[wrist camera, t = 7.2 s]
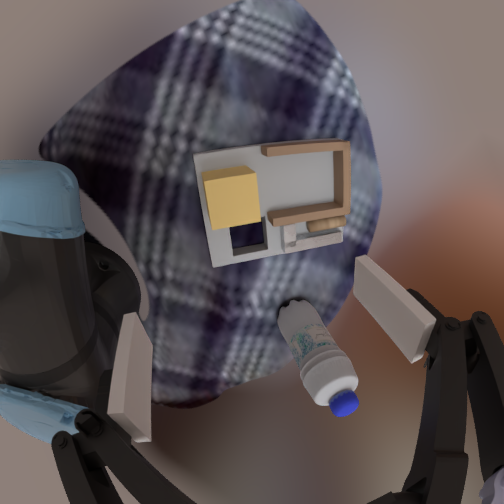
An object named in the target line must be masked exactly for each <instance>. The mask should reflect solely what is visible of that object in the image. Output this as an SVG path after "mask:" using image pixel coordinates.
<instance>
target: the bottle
mask: <svg viewBox="0 0 504 504" xmlns="http://www.w3.org/2000/svg"><path fill="white" fill-rule="evenodd" d="M277 323H278V326H279V329H280V331H281V333H282V335H283V337H284V338H285V340H286V342H287V343H288V345H289V347H290V350H291V352H292V354H293V356H294V358H295V360H296V362H297V364H298V367H299V369H300V371H301V373H300V377H301V379H302V381H303V385H304V387H305V388H306V389H307V391H308V392H309V394H310V395H311V397H312V398H313V400H314V401H315V402H316V403H317V404H318V405H323V406H326V405H329V406H330V408H331V411H332V412H333V414H334V415H335V416H338V417H343V416H347V415H349V414H351V413H352V412H353V411H355V410H356V408H357V407H358V405H359V400H358V398H357V396H356V395H355V393H354V390H355V388H356V387H357V385H358V377H357V375H356V373H355V371H354V368H353V366H352V363H351V361H350V359H349V358H348V357H347V356H346V354H345V353H344V352H343V351H342V350H340V349H339V348H338V346H337V345H336V343H335V342H334V340H333V338H332V337H331V335H330V334H329V332H328V330H327V329H326V327H325V326H324V324H323V322H322V320H321V318H320V316H319V314H318V313H317V311H316V310H315V308H314V307H313V306H312V305H311V304H310V303H309V302H307V301H305V300H301V301H300V302H297V301H295V300H291V301H290V304H289V306H287V307H286V308H285V307H281V309H280V312H279V317H278V319H277Z"/></svg>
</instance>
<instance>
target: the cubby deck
mask: <svg viewBox="0 0 504 504" xmlns="http://www.w3.org/2000/svg"><path fill="white" fill-rule="evenodd" d="M193 157H194V164H195V170H196V176H197V182H198V188H199V194H200V200H201V206H202V212H203V217H204V223H205V229H206V234H207V239H208V245H209V250H210V255H211V260H212V265H213V267H218V266H223V265H228V264H233V263H238V262H243V261H248V260H253V259H258V258H263V257H268V256H273V255H278V254H283V253H284V251H283V250H282V248H281V232H280V226H283V225H289V224H294V223H295V224H296V235H300V234H305V233H309V232H308V230H307V227H306V221H311V220H317V219H323V218H329V217H335V216H341V215H347V214H350V198H351V161H350V142H349V141H344V140H343V139H338V138H325V139H308V140H294V141H283V142H272V143H263V144H254V145H246V146H239V147H232V148H225V149H218V150H212V151H206V152H200V153H194V154H193ZM243 165H246V166H248V167H249V168H250V169H252V170H253V171H254V172H256V175H257V185H258V194H259V204H260V214H261V217H262V225H263V235H264V243H262V244H256V245H251V246H246V247H241V248H236V249H232V244H231V237H230V231H229V227H228V228H222V229H217V230H212V228H211V224H210V220H209V216H208V210H207V204H206V198H205V192H204V186H203V180H202V174H201V172H206V171H212V170H218V169H224V168H230V167H237V166H243ZM337 228H338V229H339V230H341V231H342V241H343V226H342V227H337Z"/></svg>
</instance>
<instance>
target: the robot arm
mask: <svg viewBox="0 0 504 504" xmlns="http://www.w3.org/2000/svg"><path fill="white" fill-rule="evenodd" d="M84 233H85V224H84V222H83V221H82V216H81V208H80V197H79V185H78V182H77V179H76V177H75V175H74V174H73V172H72V171H71V170H70V169H68V168H67V167H66V166H64V165H61V164H59V163H55V162H49V161H39V160H0V415H1V416H2V417H3V418H4V419H5V420H6V421H8V422H9V423H11V424H12V425H13V426H15V427H16V428H18V429H20V430H21V431H23V432H25V433H26V434H28V435H31V436H32V437H35V438H37V439H39V440H42V441H44V442H47V443H50V444H51V445H52V450H53V454H54V457H55V460H56V464H57V468H58V471H59V474H60V477H61V480H62V483H63V486H64V489H65V491H66V494H67V497H68V499H69V502H70V504H123V502H122V500H121V498H120V497H119V494H118V493H117V491H116V489H115V487H114V485H113V483H112V481H111V479H110V477H109V475H108V473H107V470H106V468H105V466H108V467H109V469H110V470H111V471H112V472H113V474H114V475H115V476H116V477H117V479H118V480H119V481H120V482H121V483H122V484H123V485H124V487H125V488H126V489H127V490H128V491H129V492H130V493H131V494H132V495H133V496H134V497H135V498H136V500H138V502H139V503H140V504H197V503H195V502H194V501H193V500H191V499H190V498H189V497H188V496H186V495H185V494H184V493H183V492H181V491H180V490H179V489H178V488H177V487H176V486H174V485H173V484H172V483H171V482H170V481H169V480H168V479H166V478H165V477H164V476H163V475H162V474H161V473H160V472H159V471H158V470H157V469H156V468H154V467H153V466H152V465H151V464H150V463H149V462H148V461H147V460H146V459H145V458H144V457H143V456H142V455H141V454H140V453H139V452H138V451H137V449H136V448H135V447H134V446H133V445H131V437H132V438H133V439H134V440H135V441H136V442H146V441H151V371H152V350H153V345H152V344H151V342H150V340H149V338H148V336H147V334H146V332H145V330H144V328H143V326H142V324H141V322H140V320H139V317H138V313H139V308H140V302H141V292H140V286H139V283H138V280H137V278H136V276H135V274H134V272H133V270H132V269H131V268H130V266H129V265H128V264H127V263H126V262H125V261H124V260H123V259H122V258H121V257H120V256H119V255H118V254H116V253H115V252H113V251H112V250H110V249H108V248H106V247H104V246H102V245H99V244H95V243H91V242H84ZM353 294H354V296H355V297H356V298H357V299H358V300H359V301H360V302H361V304H362V305H363V306H364V307H365V308H366V309H367V311H368V312H369V313H370V314H371V315H372V316H373V318H374V319H375V320H376V321H377V322H378V323H379V324H380V326H381V327H382V328H383V329H384V331H385V332H386V333H387V334H388V335H389V336H390V338H391V339H392V340H393V341H394V342H395V344H396V345H397V346H398V347H399V349H400V350H401V351H402V352H403V354H404V355H405V356H406V357H407V358H408V360H409V361H410V362H411V363H413V362H415V361H417V360H418V359H421V358H422V357H423V354H424V352H425V350H426V351H427V352H428V353H429V355H428V357H427V359H426V362H425V364H424V368H425V367H426V365H427V372H426V384H425V393H424V403H423V410H422V416H421V423H420V429H419V435H418V440H417V445H416V449H415V454H414V459H413V463H412V467H411V470H410V473H409V475H408V476H407V478H406V480H405V483H404V486H403V488H402V491H401V492H397V493H392V492H389V493H387V494H385V495H383V496H382V497H380V498H377V499H376V500H373V501H371V502H369V503H367V504H461V499H462V495H463V490H464V485H465V480H466V474H467V468H468V454H466V453H465V452H464V443H465V433H466V417H467V391H468V395H469V399H470V403H471V408H472V412H473V418H474V423H475V429H476V434H477V442H478V449H479V457H480V466H481V472H482V475H483V480H484V485H483V488H482V489H481V490H480V492H479V497H480V498H481V499H482V504H504V345H503V343H502V341H501V339H500V337H499V334H498V332H497V330H496V328H495V326H494V324H493V322H492V320H491V318H490V316H489V315H488V314H486V313H485V312H482V311H477V312H474V313H473V314H472V317H471V319H470V320H466V321H462V322H460V321H459V320H458V319H456V318H453V317H444V316H443V315H442V314H441V313H440V312H439V311H438V310H437V309H436V308H435V307H434V306H433V305H432V304H431V303H429V302H428V301H427V300H426V299H424V297H423V296H422V295H421V294H420V293H418V292H417V291H415V290H412V289H408V290H405V289H404V288H403V287H402V286H401V285H400V284H398V283H397V282H396V281H395V280H394V279H393V278H392V277H391V276H390V275H388V274H387V273H386V272H385V271H384V270H383V269H382V268H381V267H379V266H378V265H377V264H376V263H375V262H374V261H372V260H371V259H370V258H369V257H368V256H367V255H363V256H360V257H356V258H355V275H354V290H353Z"/></svg>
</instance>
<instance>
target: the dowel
mask: <svg viewBox="0 0 504 504" xmlns="http://www.w3.org/2000/svg"><path fill="white" fill-rule="evenodd" d="M345 225H346V218H345V216H344V215H341V216H335V217H329V218H323V219H317V220H311V221H306V227H307V230H308V232H309V233H310V232H316V231H321V230H326V229H332V228H337V227H342V226H345Z"/></svg>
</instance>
